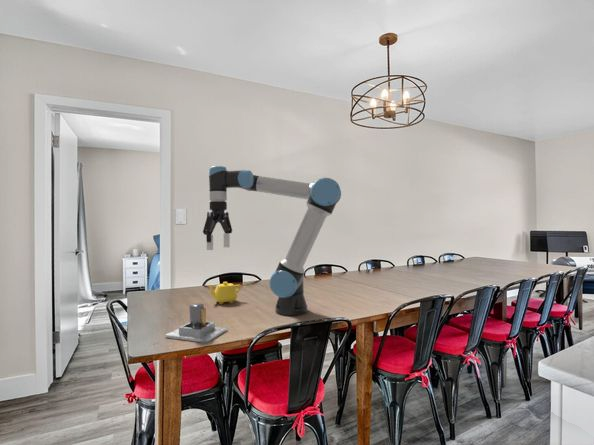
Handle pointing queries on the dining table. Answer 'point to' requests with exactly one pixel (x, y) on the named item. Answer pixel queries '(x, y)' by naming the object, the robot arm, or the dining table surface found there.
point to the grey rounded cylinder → (197, 315)
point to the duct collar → (197, 333)
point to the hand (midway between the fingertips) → (218, 248)
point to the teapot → (225, 292)
